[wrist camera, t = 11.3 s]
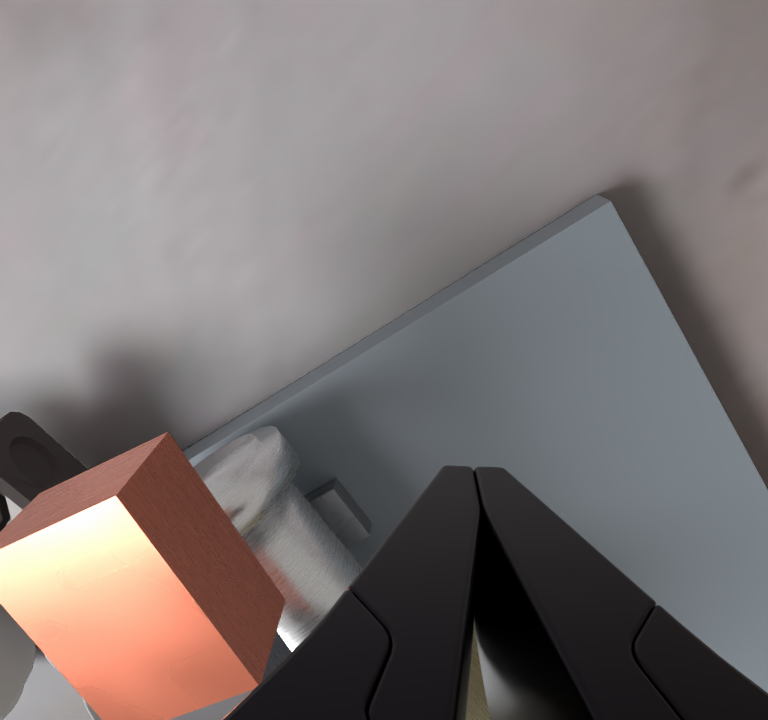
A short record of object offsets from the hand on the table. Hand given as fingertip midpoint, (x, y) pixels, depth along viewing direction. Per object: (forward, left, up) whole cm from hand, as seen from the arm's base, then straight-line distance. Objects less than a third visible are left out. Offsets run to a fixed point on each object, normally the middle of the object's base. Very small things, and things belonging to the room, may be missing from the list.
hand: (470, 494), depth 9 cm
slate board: (-11, +4, -11) cm, 16 cm away
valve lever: (-5, +7, -3) cm, 9 cm away
